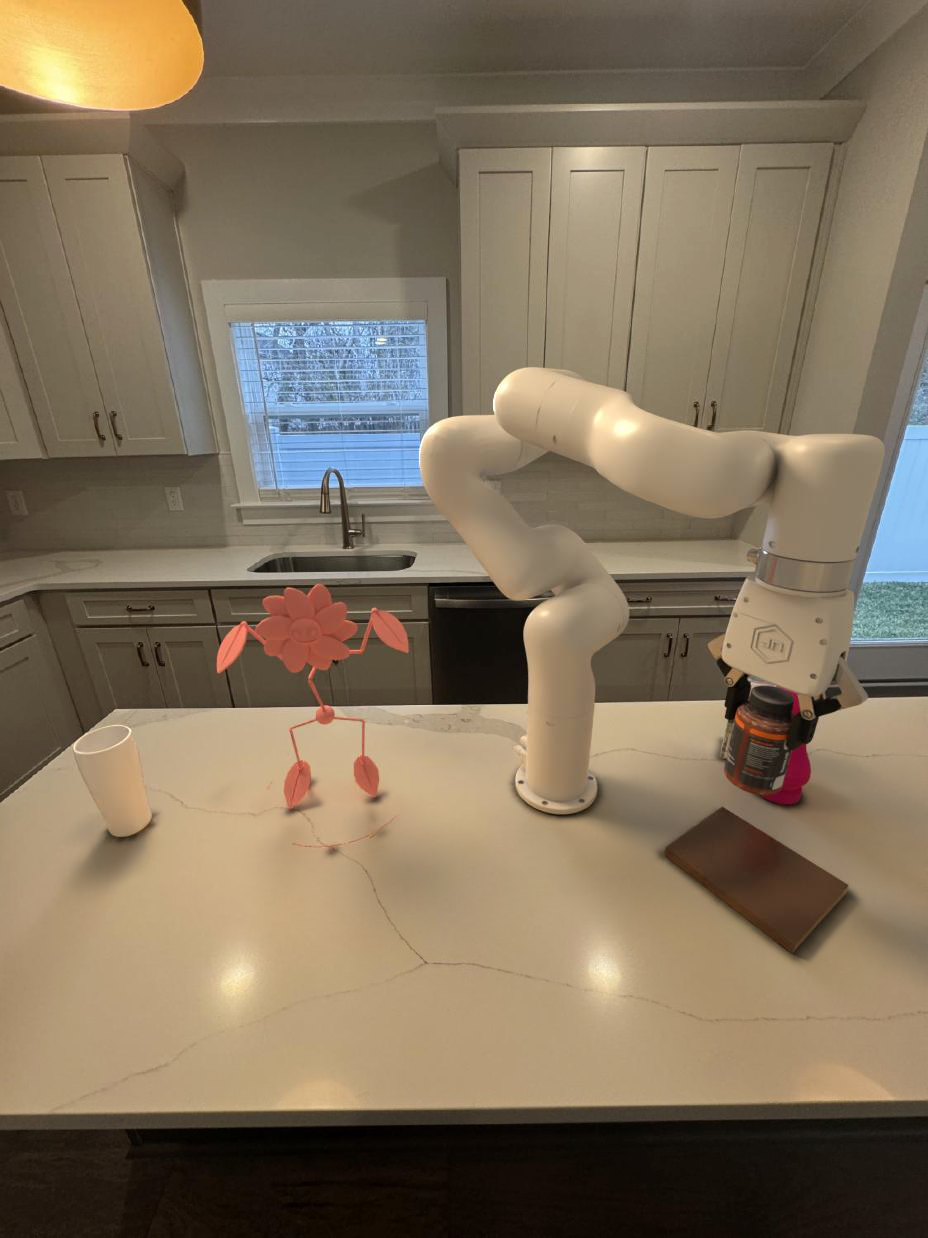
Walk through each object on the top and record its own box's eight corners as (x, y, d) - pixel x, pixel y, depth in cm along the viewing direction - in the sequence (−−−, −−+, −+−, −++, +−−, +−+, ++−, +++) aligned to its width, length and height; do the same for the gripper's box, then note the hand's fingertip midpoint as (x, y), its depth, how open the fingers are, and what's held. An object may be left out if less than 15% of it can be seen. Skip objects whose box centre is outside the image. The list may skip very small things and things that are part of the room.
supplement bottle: (793, 798, 55) (819, 709, 51) (737, 798, 55) (759, 709, 51) (764, 763, 60) (785, 680, 56) (713, 763, 61) (731, 680, 56)
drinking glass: (168, 816, 75) (142, 731, 69) (123, 849, 69) (91, 759, 64) (138, 803, 78) (111, 719, 72) (93, 834, 72) (59, 746, 66)
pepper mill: (811, 810, 74) (848, 691, 66) (757, 804, 75) (787, 686, 68) (792, 778, 80) (823, 665, 73) (743, 772, 82) (768, 662, 74)
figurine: (255, 784, 81) (210, 575, 68) (416, 770, 84) (403, 565, 71) (225, 862, 67) (161, 617, 54) (420, 842, 70) (405, 603, 57)
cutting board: (664, 855, 67) (665, 846, 66) (720, 814, 74) (722, 806, 73) (791, 954, 55) (795, 944, 54) (845, 894, 61) (849, 885, 61)
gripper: (697, 558, 53) (673, 705, 60) (895, 604, 40) (836, 787, 47) (737, 547, 57) (711, 687, 64) (931, 586, 44) (871, 758, 50)
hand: (764, 728), depth 55 cm, fingers closed on supplement bottle, 5 cm apart
